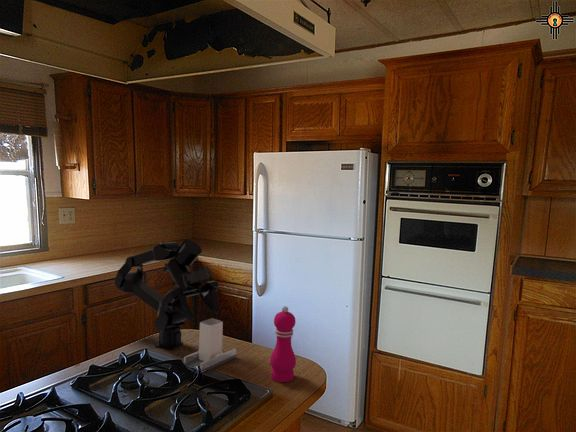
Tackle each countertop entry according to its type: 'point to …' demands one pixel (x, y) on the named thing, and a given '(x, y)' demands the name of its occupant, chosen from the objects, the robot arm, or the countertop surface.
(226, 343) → the countertop surface
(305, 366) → the countertop surface
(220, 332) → the block
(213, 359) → the rail plate
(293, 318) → the pepper mill
